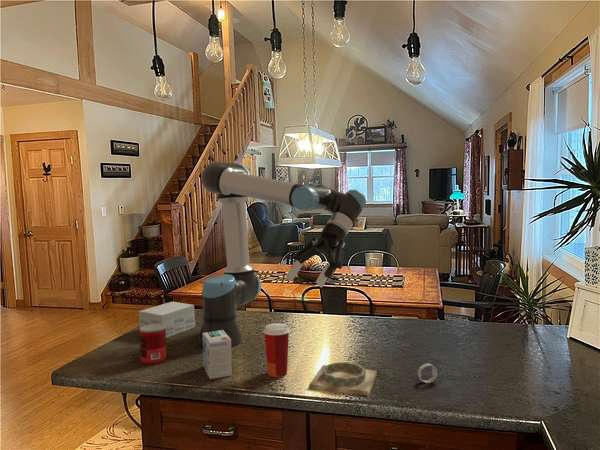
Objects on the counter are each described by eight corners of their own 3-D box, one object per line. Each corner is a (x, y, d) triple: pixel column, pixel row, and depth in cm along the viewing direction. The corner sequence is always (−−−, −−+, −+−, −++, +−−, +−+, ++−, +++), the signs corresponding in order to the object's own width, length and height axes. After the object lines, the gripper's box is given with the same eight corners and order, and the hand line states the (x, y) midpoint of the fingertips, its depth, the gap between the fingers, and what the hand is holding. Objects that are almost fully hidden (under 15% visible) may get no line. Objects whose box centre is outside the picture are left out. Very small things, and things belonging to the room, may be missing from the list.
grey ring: (438, 383, 121) (438, 365, 120) (421, 385, 120) (421, 367, 119) (432, 379, 124) (432, 361, 123) (416, 380, 123) (416, 363, 122)
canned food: (171, 357, 144) (170, 324, 143) (155, 366, 136) (154, 331, 136) (151, 355, 146) (150, 322, 146) (135, 363, 139) (134, 329, 138)
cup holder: (309, 388, 119) (309, 376, 119) (323, 368, 132) (322, 358, 132) (368, 395, 114) (368, 383, 114) (376, 374, 127) (376, 363, 127)
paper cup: (292, 368, 133) (291, 322, 132) (288, 379, 125) (287, 330, 124) (266, 368, 133) (265, 322, 132) (261, 378, 126) (260, 330, 125)
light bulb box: (202, 366, 136) (201, 332, 135) (224, 363, 138) (223, 329, 138) (209, 379, 126) (208, 342, 125) (233, 375, 128) (232, 339, 128)
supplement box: (173, 323, 184) (172, 301, 184) (195, 327, 177) (194, 304, 177) (138, 334, 170) (137, 310, 169) (162, 339, 163) (161, 314, 162)
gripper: (371, 239, 136) (339, 295, 127) (315, 235, 155) (283, 283, 146) (360, 223, 133) (326, 279, 123) (304, 220, 151) (270, 269, 142)
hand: (303, 281), depth 135 cm, fingers open, 13 cm apart
